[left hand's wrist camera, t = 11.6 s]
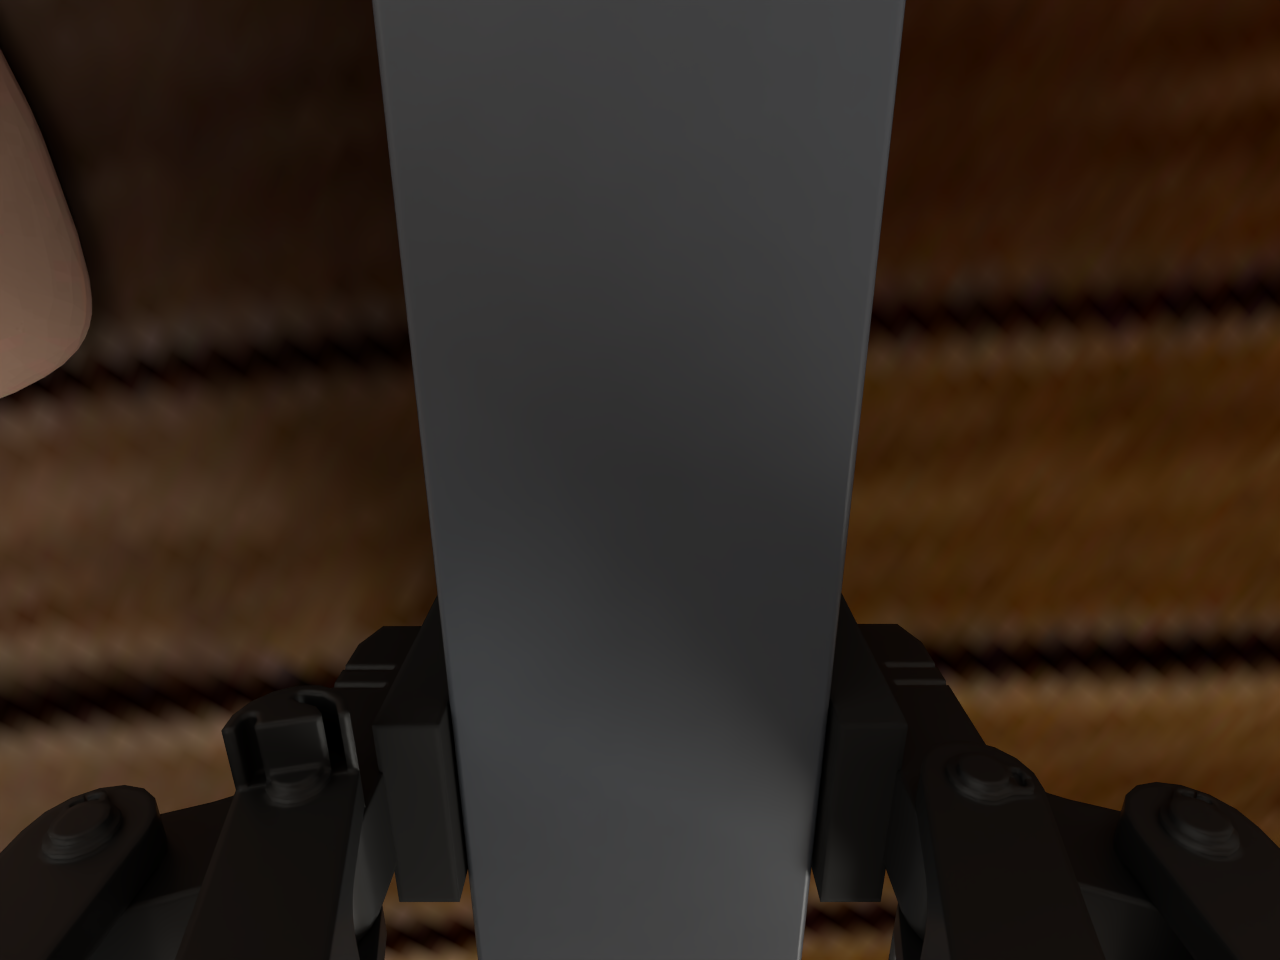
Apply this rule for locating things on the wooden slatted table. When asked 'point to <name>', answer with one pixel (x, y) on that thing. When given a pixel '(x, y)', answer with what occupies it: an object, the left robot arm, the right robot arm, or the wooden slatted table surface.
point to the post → (639, 440)
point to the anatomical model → (35, 252)
